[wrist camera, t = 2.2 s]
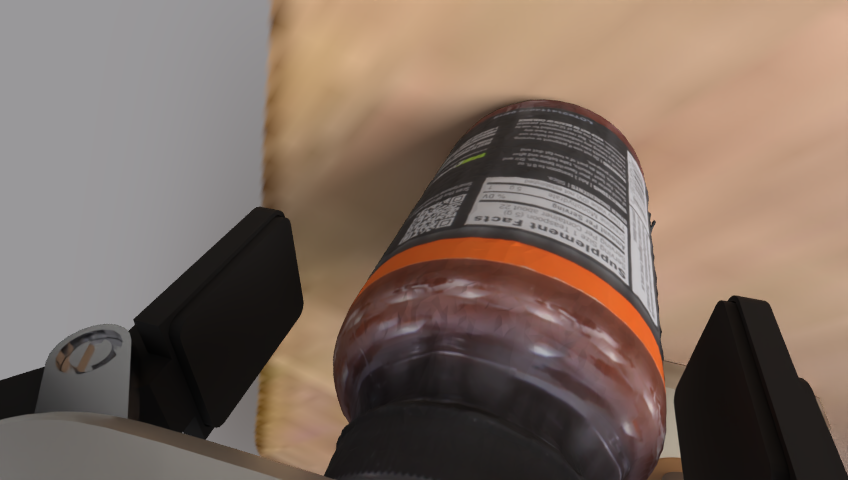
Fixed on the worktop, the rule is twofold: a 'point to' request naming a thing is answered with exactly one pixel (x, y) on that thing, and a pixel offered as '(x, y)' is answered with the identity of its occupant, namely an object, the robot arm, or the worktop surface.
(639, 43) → the worktop surface
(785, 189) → the worktop surface
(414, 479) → the supplement bottle
